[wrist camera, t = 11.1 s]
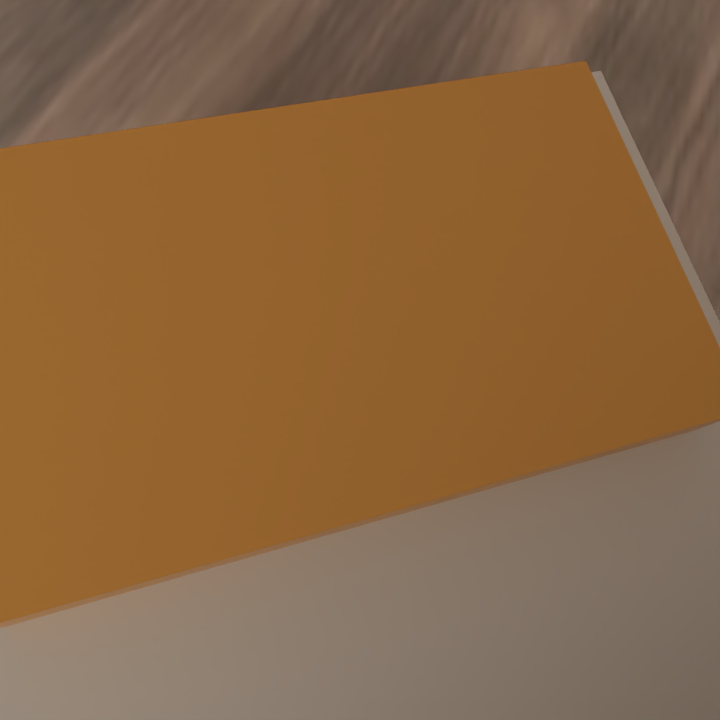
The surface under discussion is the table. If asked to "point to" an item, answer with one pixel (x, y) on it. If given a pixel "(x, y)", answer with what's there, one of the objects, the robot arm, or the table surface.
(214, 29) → the table surface
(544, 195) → the rail module
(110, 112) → the table surface
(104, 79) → the table surface
